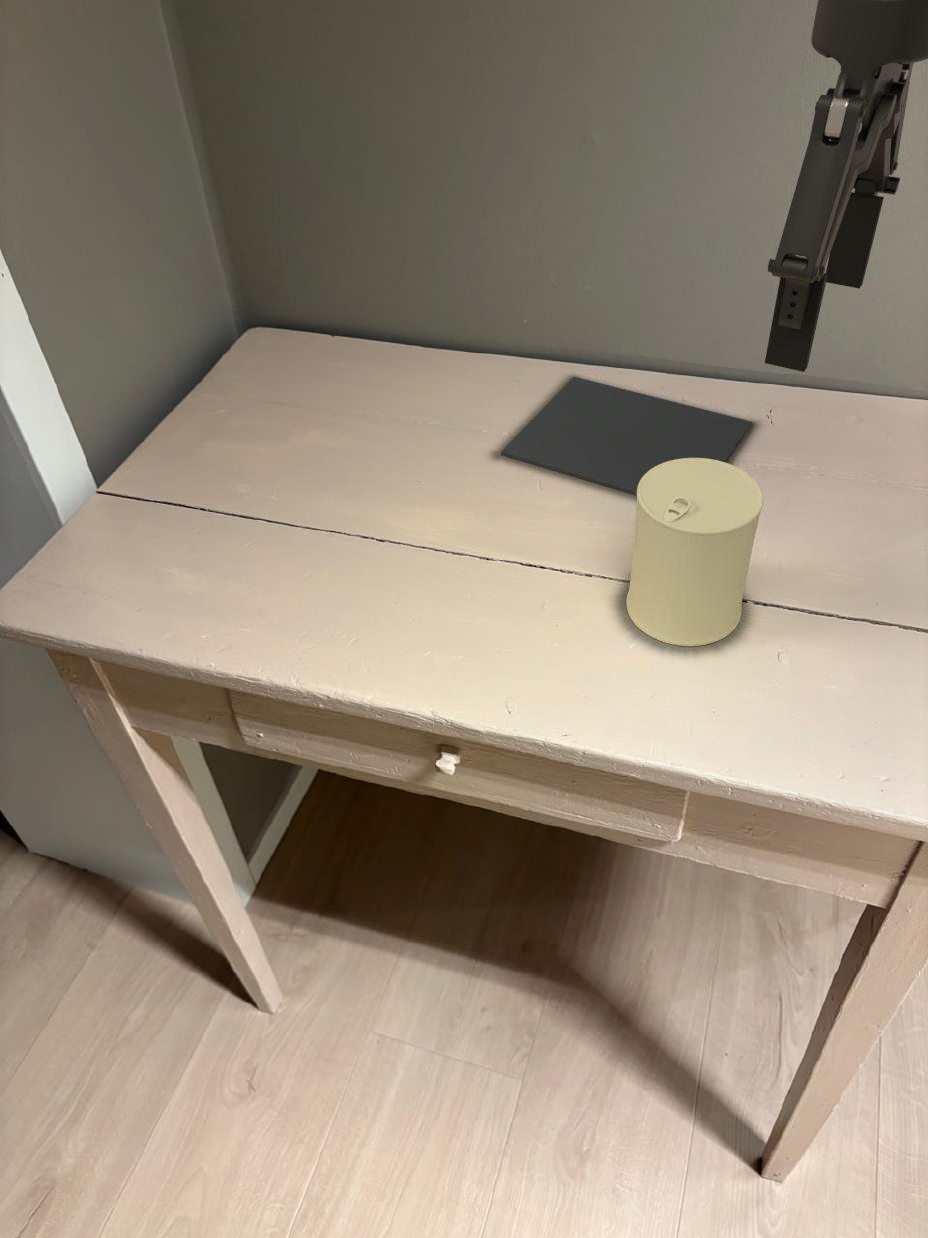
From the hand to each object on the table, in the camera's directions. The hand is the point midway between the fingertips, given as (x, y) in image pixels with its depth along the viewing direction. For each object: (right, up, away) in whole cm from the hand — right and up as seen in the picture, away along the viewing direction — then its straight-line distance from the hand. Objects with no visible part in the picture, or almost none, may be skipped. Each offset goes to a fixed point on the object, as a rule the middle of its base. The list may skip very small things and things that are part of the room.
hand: (815, 322), depth 69 cm
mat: (-9, -3, +27) cm, 29 cm away
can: (-7, -20, +10) cm, 24 cm away
